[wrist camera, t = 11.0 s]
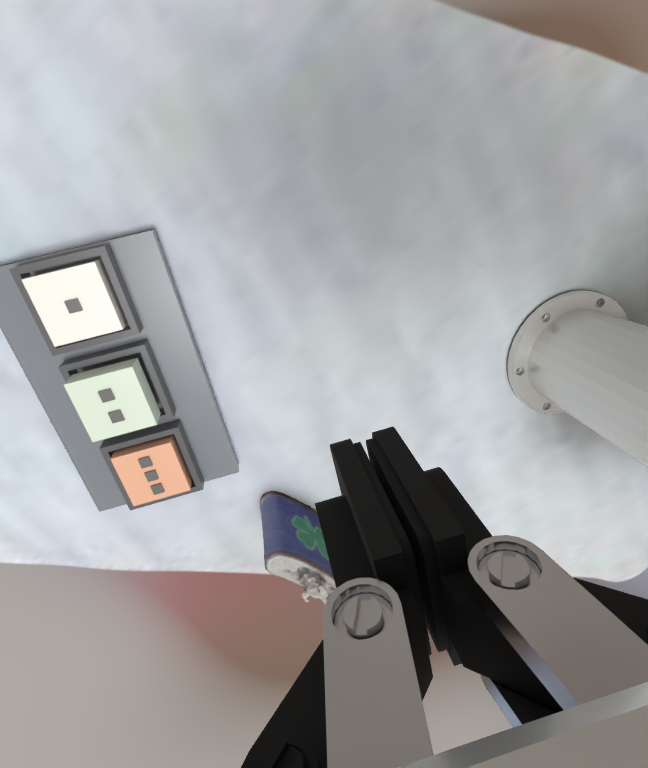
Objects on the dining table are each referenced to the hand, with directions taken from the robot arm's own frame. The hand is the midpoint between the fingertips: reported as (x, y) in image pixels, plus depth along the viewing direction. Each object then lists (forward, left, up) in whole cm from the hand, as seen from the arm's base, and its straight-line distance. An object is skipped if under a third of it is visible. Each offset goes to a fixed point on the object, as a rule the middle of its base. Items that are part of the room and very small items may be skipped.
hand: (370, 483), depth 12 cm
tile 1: (+14, -3, -27) cm, 31 cm away
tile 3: (+14, +12, -27) cm, 33 cm away
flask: (+4, +24, -29) cm, 38 cm away
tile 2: (+14, +5, -26) cm, 30 cm away
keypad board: (+14, +5, -29) cm, 33 cm away
